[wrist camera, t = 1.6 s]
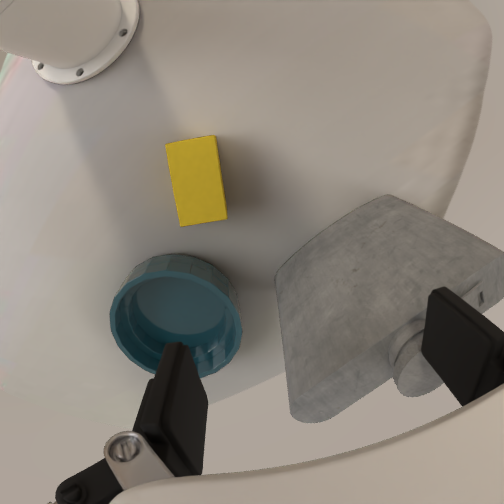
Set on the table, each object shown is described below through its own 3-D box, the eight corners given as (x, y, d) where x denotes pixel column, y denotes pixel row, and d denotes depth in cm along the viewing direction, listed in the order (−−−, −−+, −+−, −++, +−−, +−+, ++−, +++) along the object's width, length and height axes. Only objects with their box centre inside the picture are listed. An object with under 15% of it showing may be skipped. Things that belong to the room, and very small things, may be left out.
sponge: (173, 143, 25) (164, 144, 22) (215, 135, 26) (214, 134, 22) (185, 215, 28) (180, 227, 24) (226, 208, 28) (227, 219, 24)
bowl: (106, 262, 29) (91, 281, 25) (228, 242, 29) (229, 260, 25) (142, 358, 34) (135, 383, 30) (246, 346, 34) (250, 371, 30)
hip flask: (285, 297, 32) (312, 461, 13) (263, 269, 31) (271, 434, 12) (404, 213, 29) (542, 302, 10) (387, 181, 28) (538, 246, 9)
